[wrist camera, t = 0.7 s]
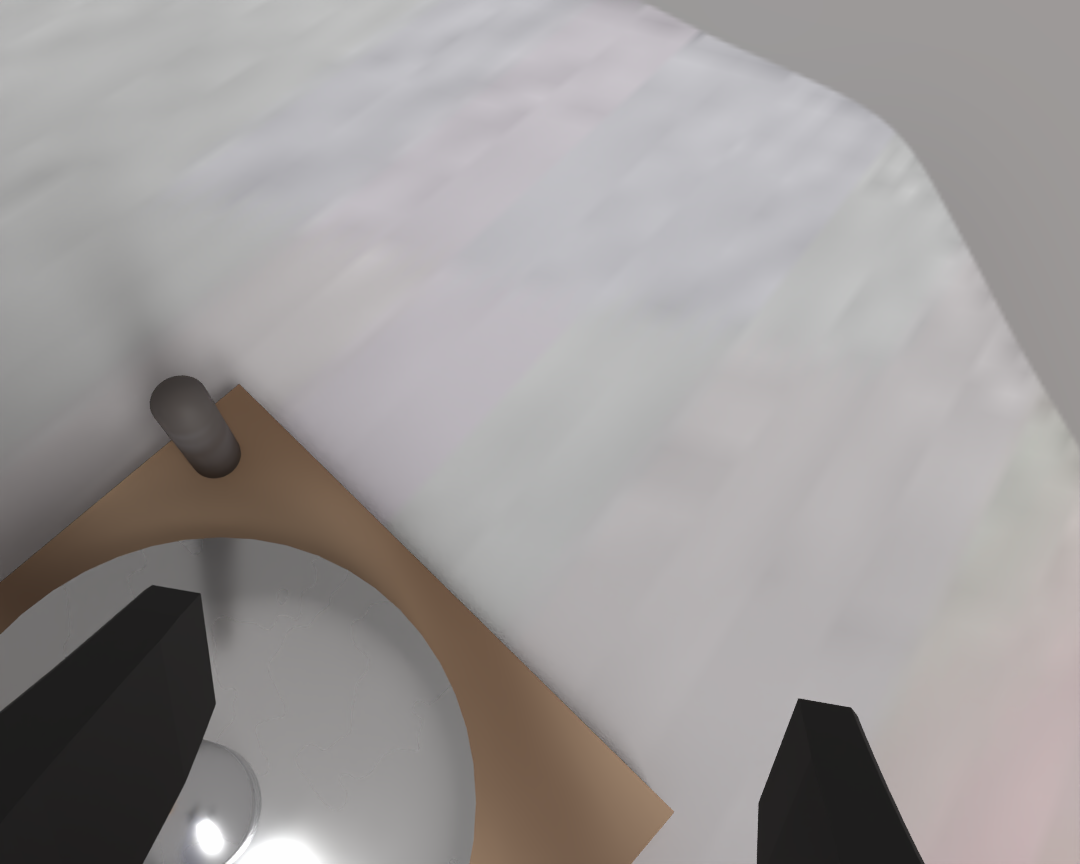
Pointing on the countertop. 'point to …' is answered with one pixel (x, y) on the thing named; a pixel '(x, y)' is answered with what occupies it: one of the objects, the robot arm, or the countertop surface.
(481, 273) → the countertop surface
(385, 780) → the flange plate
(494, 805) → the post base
